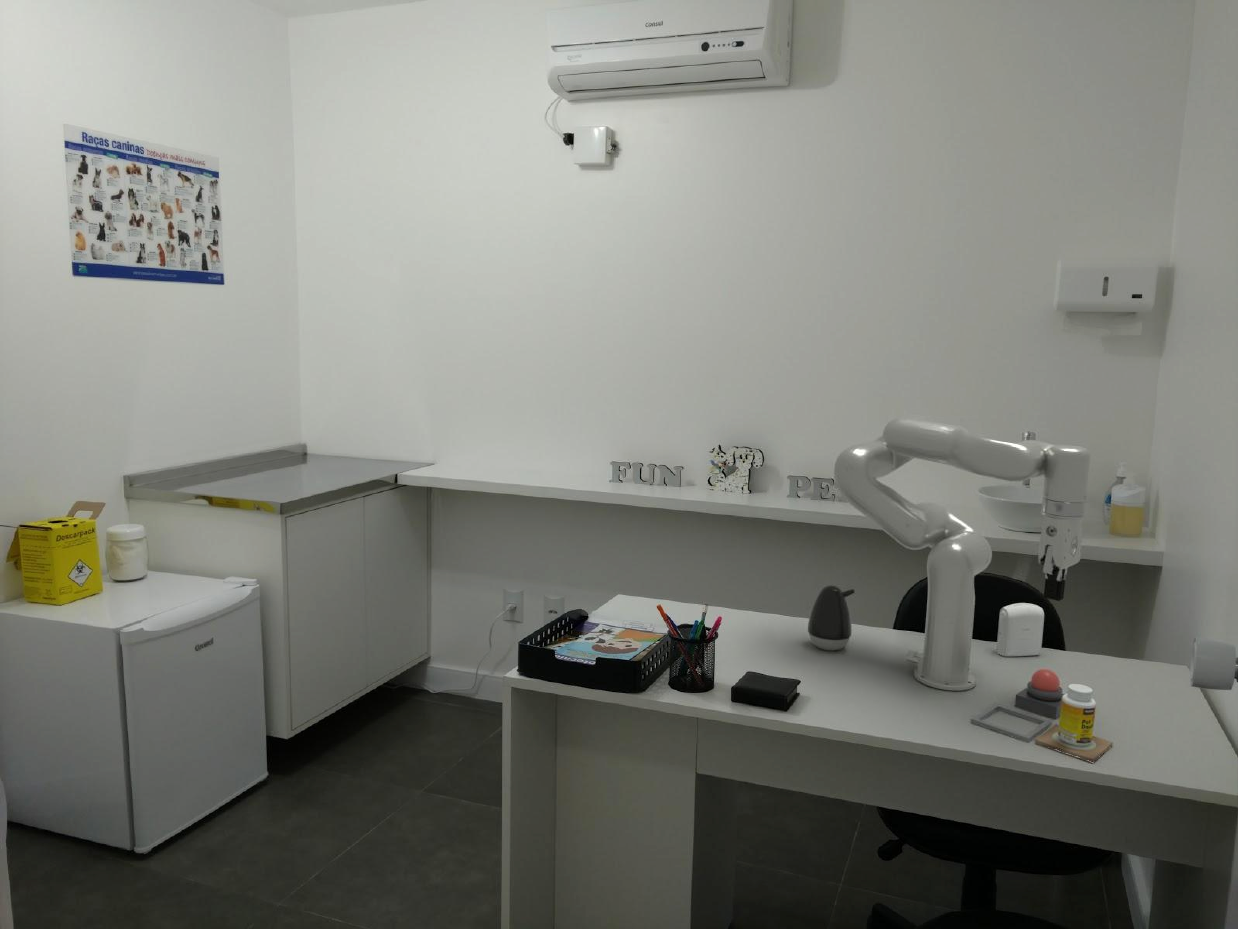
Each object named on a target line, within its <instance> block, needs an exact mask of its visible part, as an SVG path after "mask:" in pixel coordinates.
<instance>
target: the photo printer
mask: <svg viewBox="0 0 1238 929" xmlns="http://www.w3.org/2000/svg"><path fill="white" fill-rule="evenodd" d="M999 610H1000V611H999V616H998V617H999V619H998V629H997V630H998V631H997V640H996V642H997V643H996V652H997V654H998V655H999V654H1000V656H1001V655H1002V656H1001V657H1024V656H1025V657H1026V656H1040V655H1041V653H1042V646H1043V645H1042V644H1043V635H1044V634H1043V633H1044V625H1045V624H1044V622H1045V612H1044V609H1043V608H1042V607H1040V606H1039V605H1037V604H1033V603H1026V602H1018V603H1012V604H1009V605H1006V606H1003V607H1002V608H1000V609H999Z"/></svg>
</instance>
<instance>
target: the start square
mask: <svg viewBox="0 0 1238 929" xmlns="http://www.w3.org/2000/svg"><path fill="white" fill-rule="evenodd" d="M997 711H1000V712H1003V713H1006V712H1007V713H1006V714H1009V715H1012V716H1015V715H1016V716H1015V717H1017V718H1018V717H1019V718H1021V719H1025V720H1028V721H1030V722H1034V723H1036V722H1037V724H1038V725H1037V726H1036V727H1035V728H1033V729H1032V730H1030V731H1029V732H1027V733H1026V734H1024V733H1021V732H1018V731H1015V730H1011V729H1009V728H1006V727H1003V726H1000V725H996V724H995V723H991V722H988V721H985V719H986V718H988V717H989V716H991V715H992V714H994V713H995V712H997ZM970 723H971V724H973V725H976V726H980V727H982V726H983V727H982V728H985V727H986V728H985V729H988V730H990V729H993V730H995V731H994V732H996V731H997V733H999V732H1002V733H1004V734H1003V735H1005V734H1006V736H1008V735H1009V737H1011V736H1013V737H1012V738H1014V737H1016V738H1015V739H1017V738H1018V739H1017V740H1019V739H1021V740H1020V741H1022V740H1023V741H1022V742H1025V741H1026V742H1025V743H1030V742H1032V740H1034V739H1035V738H1037V737H1039V735H1040V734H1041V735H1042V734H1043V733H1044V732H1046V731H1047V729H1050V728H1051V727H1052V723H1053V722H1052V721H1051V720H1049V719H1046V718H1042V717H1038V716H1036V715H1033V714H1031V713H1030V714H1029V713H1027V712H1024V711H1020V710H1018V709H1014V708H1012V707H1008V706H1005V705H1002V704H999V703H996V702H995V703H994V704H992V705H991V706H989V707H987V708H986V709H984V710H982V711H981V712H979V713H978V714H976V715H975V716H972V717H971V719H970ZM1039 723H1040V724H1039ZM993 730H992V731H993ZM1002 733H1001V734H1002Z"/></svg>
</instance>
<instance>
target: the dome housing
mask: <svg viewBox="0 0 1238 929" xmlns="http://www.w3.org/2000/svg"><path fill="white" fill-rule="evenodd" d="M1064 694H1065V693H1062V697H1063V695H1064ZM1061 703H1062V698H1061V699H1060V700H1058V701H1046V700H1041V699H1037V698H1034V697H1032V696H1030V695H1029V694H1028V693H1027V687H1026V688H1024V689H1023V690H1021V691H1019V692H1018V693H1016V694H1015V700H1014V707H1016V708H1019V709H1022V710H1025V711H1028V712H1031V713H1035V714H1039V715H1041V716H1045V717H1047V718H1049V719H1050V718H1051V719H1053V720H1057V719H1058V718H1060V717H1059V716H1060V713H1061Z"/></svg>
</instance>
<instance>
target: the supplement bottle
mask: <svg viewBox="0 0 1238 929" xmlns="http://www.w3.org/2000/svg"><path fill="white" fill-rule="evenodd" d="M1063 694H1064V695H1063V697H1062V703H1061V713H1060V717H1059V721H1058V722H1059V723H1058V725H1059V730H1058V736H1059V738H1060V739H1061V740H1062V741H1064V742H1066V743H1068V744H1071V745H1076V746H1087V745H1089V744H1090V743H1091V741H1092V736H1093V732H1094V731H1093V730H1094V724H1095V716H1096V708H1097V702H1096V701H1095V699H1094V698H1093V689H1092V688H1091V687H1089V686H1087V685H1084V684H1079V683H1072V684H1069V685H1068V686H1067V692H1066V693H1063Z"/></svg>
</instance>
